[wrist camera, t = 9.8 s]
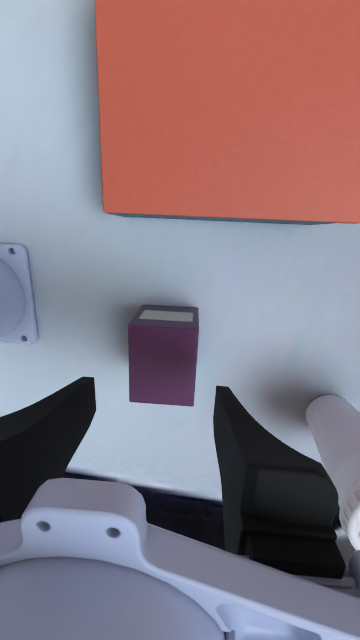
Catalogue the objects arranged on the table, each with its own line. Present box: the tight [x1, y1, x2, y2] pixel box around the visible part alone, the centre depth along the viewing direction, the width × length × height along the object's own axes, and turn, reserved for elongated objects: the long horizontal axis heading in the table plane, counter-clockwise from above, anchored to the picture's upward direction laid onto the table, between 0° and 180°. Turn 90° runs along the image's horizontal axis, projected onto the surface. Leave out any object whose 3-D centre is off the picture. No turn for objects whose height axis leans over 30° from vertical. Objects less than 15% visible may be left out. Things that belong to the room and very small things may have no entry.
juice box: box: [128, 305, 199, 406], centre depth 20 cm, size 4×6×5 cm
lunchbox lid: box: [95, 0, 360, 224], centre depth 14 cm, size 14×11×1 cm
